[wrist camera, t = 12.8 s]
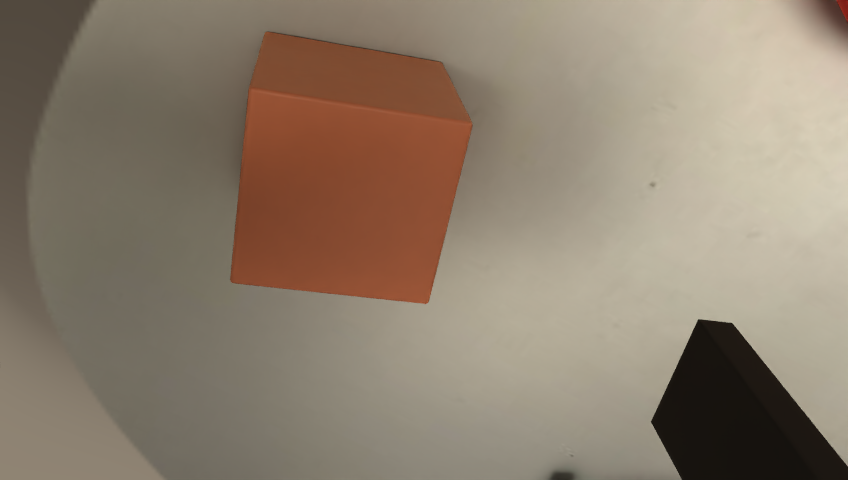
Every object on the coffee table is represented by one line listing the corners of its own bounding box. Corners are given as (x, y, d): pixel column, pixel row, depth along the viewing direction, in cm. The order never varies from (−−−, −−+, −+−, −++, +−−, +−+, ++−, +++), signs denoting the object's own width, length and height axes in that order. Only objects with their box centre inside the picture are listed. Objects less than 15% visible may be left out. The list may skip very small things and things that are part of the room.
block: (247, 195, 25) (229, 284, 20) (265, 30, 22) (249, 87, 17) (409, 216, 26) (428, 305, 21) (442, 61, 23) (474, 122, 18)
